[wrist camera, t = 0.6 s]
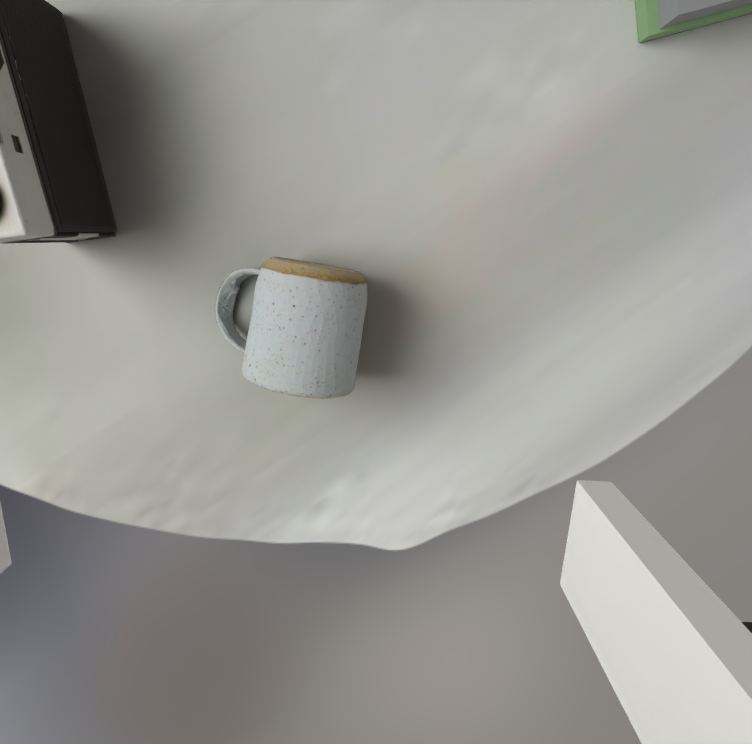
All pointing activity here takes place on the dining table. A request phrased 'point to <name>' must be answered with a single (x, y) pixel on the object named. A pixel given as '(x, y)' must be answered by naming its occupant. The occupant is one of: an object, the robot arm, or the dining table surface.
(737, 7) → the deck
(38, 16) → the camera
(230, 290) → the ceramic mug
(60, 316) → the dining table surface
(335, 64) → the dining table surface
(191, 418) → the dining table surface
